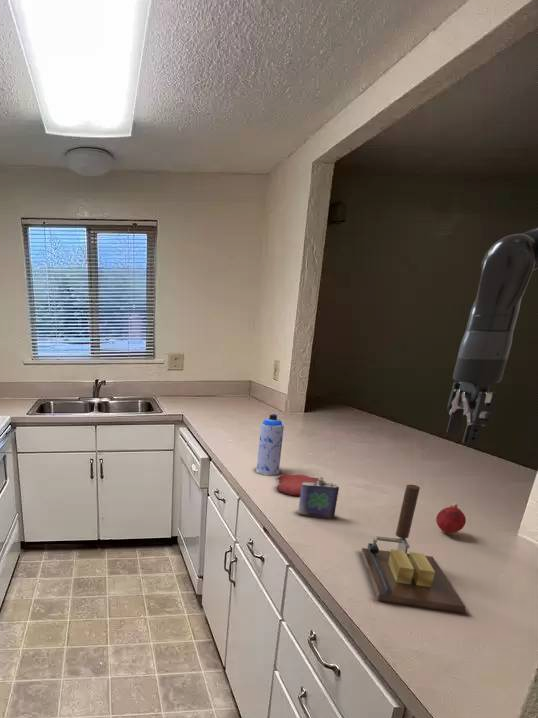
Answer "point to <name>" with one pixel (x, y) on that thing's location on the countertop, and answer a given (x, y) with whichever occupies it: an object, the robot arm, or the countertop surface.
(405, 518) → the wooden handled slicer
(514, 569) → the countertop surface
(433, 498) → the countertop surface
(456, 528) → the onion
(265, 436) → the aerosol can
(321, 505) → the flask
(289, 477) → the patty
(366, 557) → the butter board
